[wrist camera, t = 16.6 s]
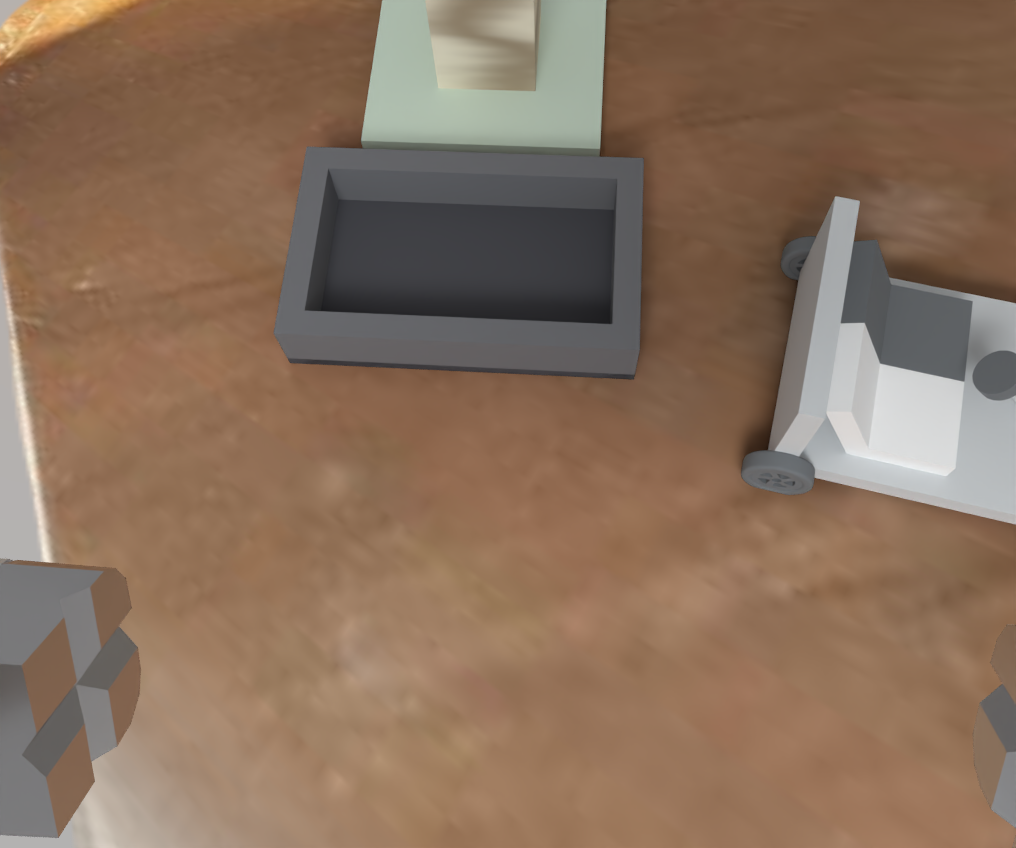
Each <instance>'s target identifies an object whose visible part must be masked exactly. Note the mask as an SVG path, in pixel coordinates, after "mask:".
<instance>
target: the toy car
mask: <svg viewBox="0 0 1016 848" xmlns="http://www.w3.org/2000/svg"><path fill="white" fill-rule="evenodd" d="M859 204H860V201H858V200H853V199H848V198H843V197H837V196H835V198H834V200H833V202H832V205H831V207H830V209H829V211H828V213H827V215H826V217H825V220H824V222H823V224H822V226H821V228H820V230H819V232H818V234H817V236H808V237H801V238H798V239H795V240H793V241H791V242H789V243H788V244H787V245H786V246H785V248H784V250H783V253H782V259H781V269H782V271H783V272H784V274H785V275H786V276H787V277H789V278H790V279H794V280H798V286H797V292H796V297H795V303H794V308H793V314H792V319H791V325H790V330H789V336H788V342H787V347H786V353H785V358H784V364H783V369H782V375H781V380H780V386H779V392H778V397H777V403H776V408H775V414H774V419H773V425H772V430H771V436H770V442H769V447H768V450H762V451H755V452H752V453H749V454H748V455H746V456H745V458H744V460H743V465H742V470H741V476H742V478H743V480H744V481H745V482H746V483H748V484H749V485H751V486H753V487H756V488H760V489H765V490H769V491H773V492H777V493H781V494H786V495H796V494H802V493H806V492H808V491H810V490H811V489H812V487H813V483H814V478H818V479H822V480H827V481H831V482H835V483H840V484H844V485H848V486H852V487H857V488H861V489H865V490H870V491H874V492H878V493H883V494H887V495H891V496H895V497H900V498H904V499H908V500H913V501H917V502H921V503H926V504H930V505H934V506H938V507H943V508H947V509H951V510H956V511H960V512H964V513H969V514H973V515H977V516H982V517H986V518H990V519H994V520H999V521H1003V522H1007V523H1012V524H1016V303H1012V302H1007V301H1002V300H997V299H992V298H987V297H982V296H977V295H972V294H968V293H963V292H958V291H953V290H948V289H943V288H938V287H933V286H928V285H923V284H919V283H914V282H909V281H904V280H899V279H894V278H889V276H888V273H887V270H886V266H885V263H884V260H883V257H882V254H881V251H880V248H879V245H878V242H877V240H868V241H854V235H855V229H856V223H857V216H858V210H859Z"/></svg>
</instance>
